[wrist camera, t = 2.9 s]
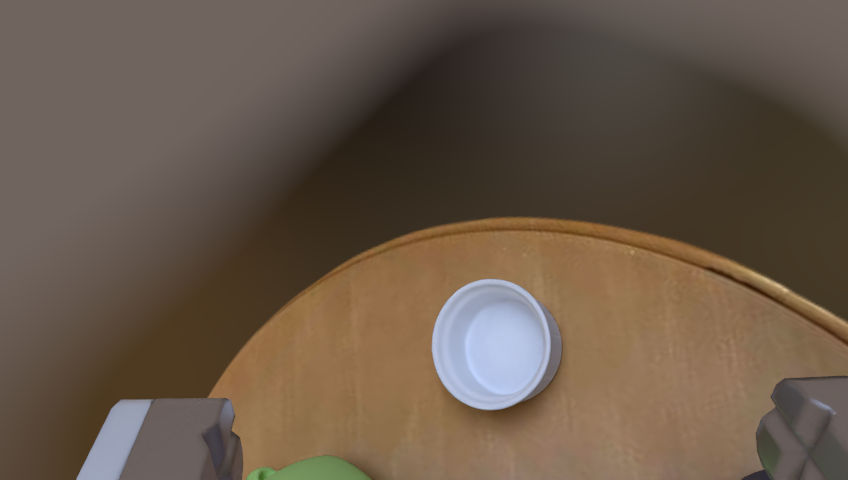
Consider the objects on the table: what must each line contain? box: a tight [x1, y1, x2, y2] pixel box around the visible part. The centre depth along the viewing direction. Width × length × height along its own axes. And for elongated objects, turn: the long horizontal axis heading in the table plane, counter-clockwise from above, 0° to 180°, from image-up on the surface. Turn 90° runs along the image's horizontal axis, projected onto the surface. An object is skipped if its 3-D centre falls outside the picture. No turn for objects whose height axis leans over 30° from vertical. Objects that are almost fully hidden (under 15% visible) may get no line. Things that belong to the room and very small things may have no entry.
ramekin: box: [432, 279, 562, 410], centre depth 44 cm, size 9×9×4 cm
